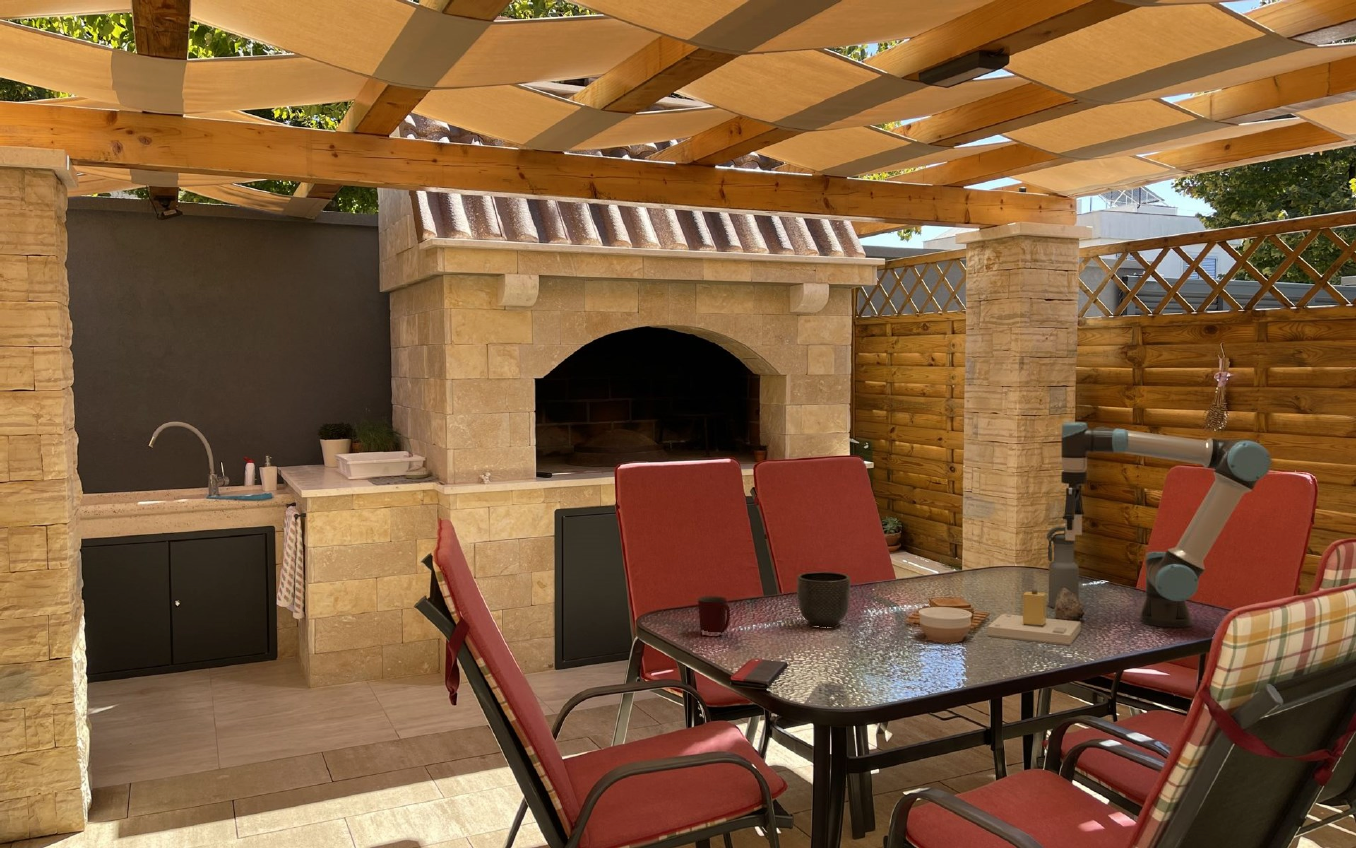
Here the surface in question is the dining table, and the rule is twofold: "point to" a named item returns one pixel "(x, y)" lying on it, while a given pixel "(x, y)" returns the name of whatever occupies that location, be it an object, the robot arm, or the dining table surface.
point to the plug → (1034, 608)
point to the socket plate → (1035, 630)
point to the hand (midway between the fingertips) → (1073, 537)
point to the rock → (1068, 606)
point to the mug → (713, 614)
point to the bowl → (945, 623)
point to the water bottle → (1061, 566)
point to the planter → (823, 597)
